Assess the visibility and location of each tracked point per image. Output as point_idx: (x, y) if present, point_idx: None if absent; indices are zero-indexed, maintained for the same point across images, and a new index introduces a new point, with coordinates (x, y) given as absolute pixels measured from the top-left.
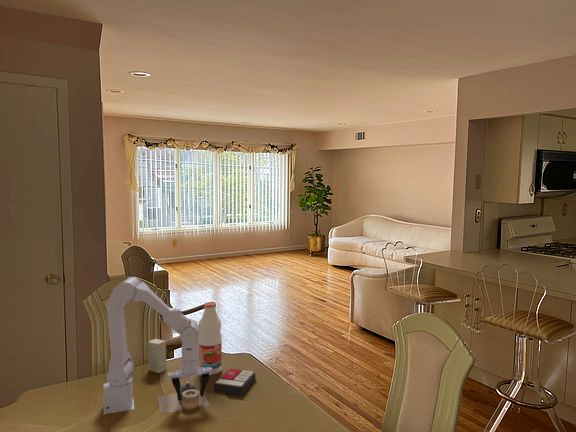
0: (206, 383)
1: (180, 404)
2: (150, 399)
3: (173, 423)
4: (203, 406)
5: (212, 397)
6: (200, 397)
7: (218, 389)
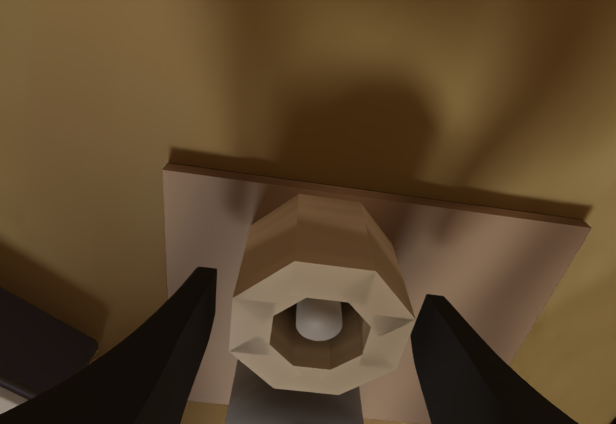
0: (86, 373)
1: None
2: None
3: (576, 42)
4: (221, 182)
5: (119, 293)
6: None
7: (47, 348)
